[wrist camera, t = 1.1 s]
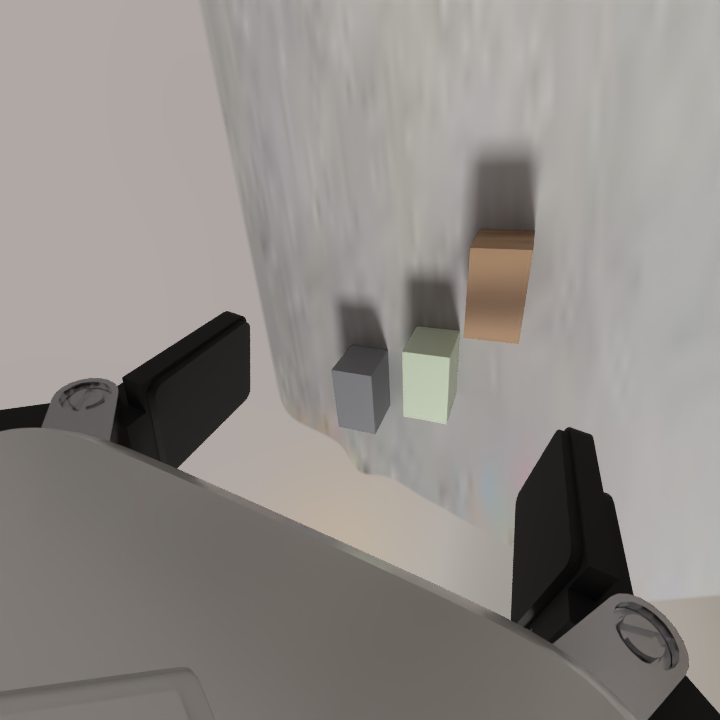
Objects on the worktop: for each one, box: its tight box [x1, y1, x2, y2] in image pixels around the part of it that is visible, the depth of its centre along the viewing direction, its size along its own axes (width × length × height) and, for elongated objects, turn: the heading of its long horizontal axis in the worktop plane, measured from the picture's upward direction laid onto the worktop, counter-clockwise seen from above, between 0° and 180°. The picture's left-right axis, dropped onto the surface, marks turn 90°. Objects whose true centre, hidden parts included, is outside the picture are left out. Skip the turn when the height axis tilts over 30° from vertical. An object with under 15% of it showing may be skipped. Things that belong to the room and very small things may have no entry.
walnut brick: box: [464, 230, 535, 344], centre depth 30 cm, size 7×4×5 cm, turn 5°
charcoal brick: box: [332, 345, 390, 434], centre depth 41 cm, size 7×4×5 cm, turn 5°
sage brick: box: [402, 326, 460, 424], centre depth 37 cm, size 7×4×5 cm, turn 5°
